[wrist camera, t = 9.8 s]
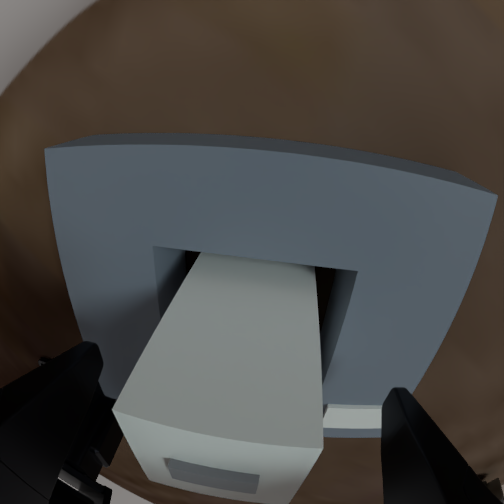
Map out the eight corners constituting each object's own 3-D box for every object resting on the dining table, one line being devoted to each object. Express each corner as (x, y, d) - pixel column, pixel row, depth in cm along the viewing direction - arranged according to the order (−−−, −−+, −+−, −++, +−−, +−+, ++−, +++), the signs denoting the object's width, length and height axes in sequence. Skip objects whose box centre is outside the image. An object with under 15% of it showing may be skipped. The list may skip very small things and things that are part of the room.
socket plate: (126, 357, 16) (103, 398, 13) (93, 135, 11) (40, 150, 8) (374, 392, 15) (382, 440, 12) (455, 171, 9) (501, 197, 7)
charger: (209, 319, 14) (146, 486, 7) (209, 238, 12) (106, 418, 5) (297, 331, 14) (286, 512, 6) (313, 251, 12) (322, 460, 4)
